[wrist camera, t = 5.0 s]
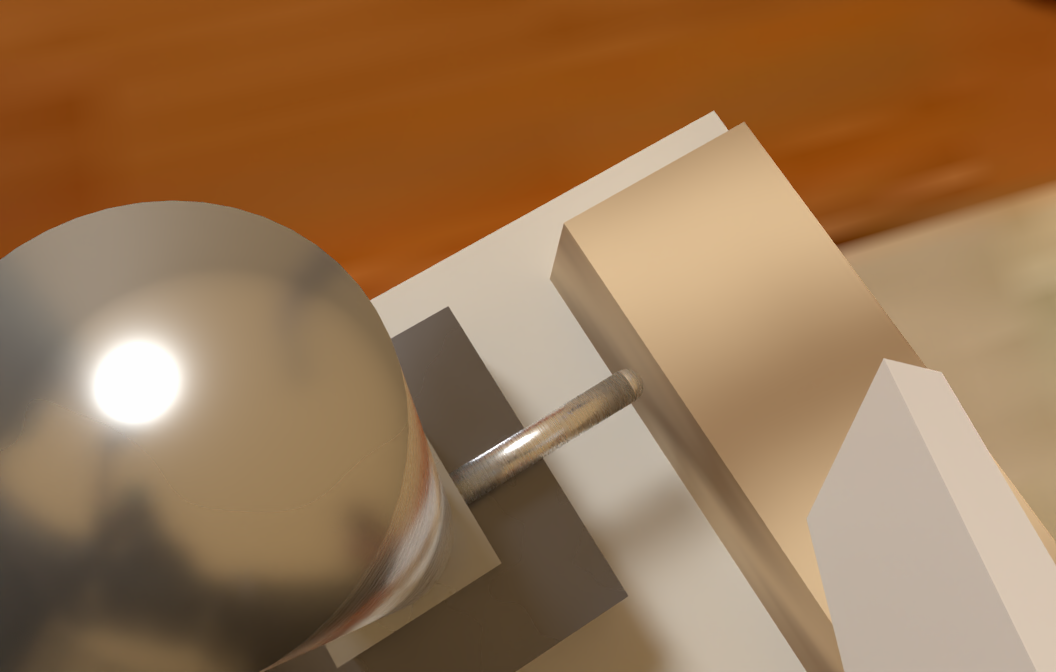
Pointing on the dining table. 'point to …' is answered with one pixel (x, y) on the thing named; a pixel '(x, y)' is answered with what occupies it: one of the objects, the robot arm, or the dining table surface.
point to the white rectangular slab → (601, 447)
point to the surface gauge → (267, 466)
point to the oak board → (738, 355)
